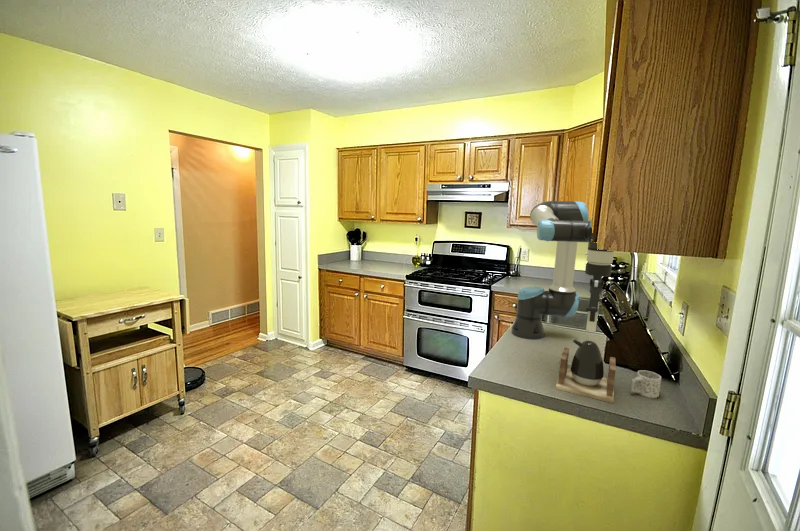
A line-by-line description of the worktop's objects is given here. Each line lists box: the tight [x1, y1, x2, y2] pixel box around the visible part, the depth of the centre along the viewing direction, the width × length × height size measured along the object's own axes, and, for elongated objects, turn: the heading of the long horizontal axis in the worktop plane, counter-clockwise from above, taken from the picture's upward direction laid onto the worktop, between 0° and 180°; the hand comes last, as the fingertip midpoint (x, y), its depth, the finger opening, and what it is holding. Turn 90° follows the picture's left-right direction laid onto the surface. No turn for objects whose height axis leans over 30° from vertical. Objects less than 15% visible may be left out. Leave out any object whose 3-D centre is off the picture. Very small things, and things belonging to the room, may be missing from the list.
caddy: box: [555, 347, 617, 404], centre depth 123 cm, size 16×17×10 cm
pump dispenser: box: [570, 339, 605, 386], centre depth 123 cm, size 10×10×15 cm
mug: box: [629, 369, 662, 399], centre depth 119 cm, size 10×7×7 cm, turn 102°
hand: (591, 325), depth 121 cm, fingers open, 13 cm apart
